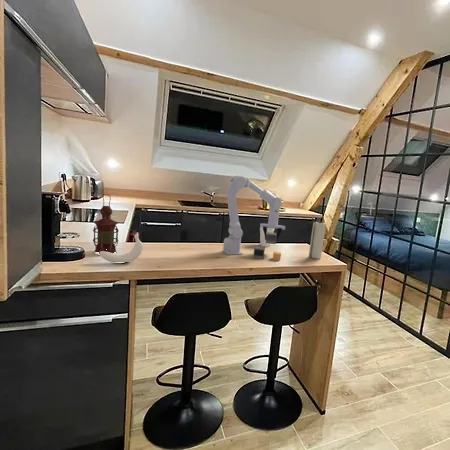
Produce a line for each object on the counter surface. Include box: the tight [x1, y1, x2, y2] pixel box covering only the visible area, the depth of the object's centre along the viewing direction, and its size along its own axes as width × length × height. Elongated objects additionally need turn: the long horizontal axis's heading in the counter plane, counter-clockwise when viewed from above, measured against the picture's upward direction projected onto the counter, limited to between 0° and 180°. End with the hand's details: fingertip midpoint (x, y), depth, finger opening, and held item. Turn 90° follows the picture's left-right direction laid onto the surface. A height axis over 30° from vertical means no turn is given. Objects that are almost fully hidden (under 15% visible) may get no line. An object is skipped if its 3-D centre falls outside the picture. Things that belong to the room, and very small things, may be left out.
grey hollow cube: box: [252, 245, 266, 260], centre depth 172 cm, size 6×6×6 cm
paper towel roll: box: [308, 221, 327, 260], centre depth 180 cm, size 7×6×21 cm
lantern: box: [92, 193, 120, 253], centre depth 152 cm, size 12×12×30 cm
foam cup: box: [259, 226, 276, 248], centre depth 200 cm, size 10×9×13 cm
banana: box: [99, 232, 144, 263], centre depth 140 cm, size 5×19×15 cm, turn 110°
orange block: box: [272, 250, 282, 262], centre depth 170 cm, size 4×4×4 cm
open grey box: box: [266, 232, 277, 245], centre depth 180 cm, size 6×6×6 cm
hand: (270, 240), depth 180 cm, fingers closed on open grey box, 6 cm apart
